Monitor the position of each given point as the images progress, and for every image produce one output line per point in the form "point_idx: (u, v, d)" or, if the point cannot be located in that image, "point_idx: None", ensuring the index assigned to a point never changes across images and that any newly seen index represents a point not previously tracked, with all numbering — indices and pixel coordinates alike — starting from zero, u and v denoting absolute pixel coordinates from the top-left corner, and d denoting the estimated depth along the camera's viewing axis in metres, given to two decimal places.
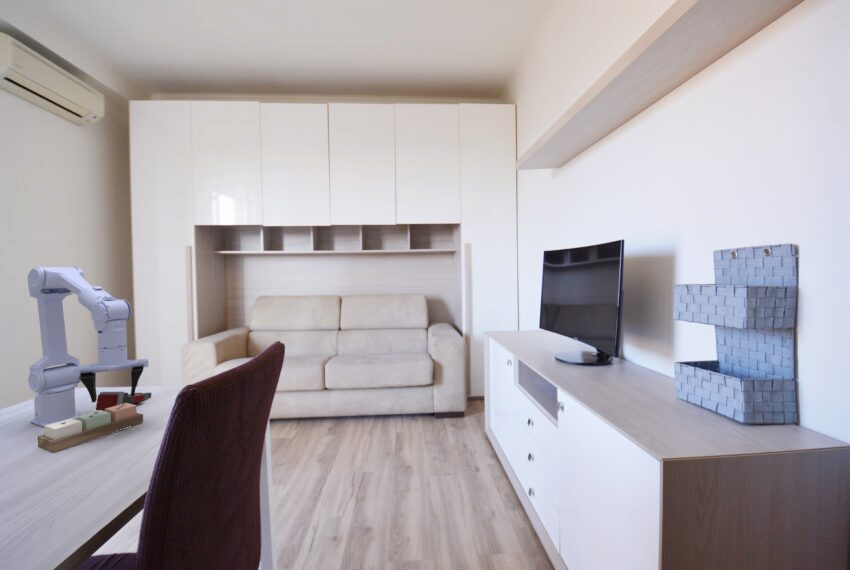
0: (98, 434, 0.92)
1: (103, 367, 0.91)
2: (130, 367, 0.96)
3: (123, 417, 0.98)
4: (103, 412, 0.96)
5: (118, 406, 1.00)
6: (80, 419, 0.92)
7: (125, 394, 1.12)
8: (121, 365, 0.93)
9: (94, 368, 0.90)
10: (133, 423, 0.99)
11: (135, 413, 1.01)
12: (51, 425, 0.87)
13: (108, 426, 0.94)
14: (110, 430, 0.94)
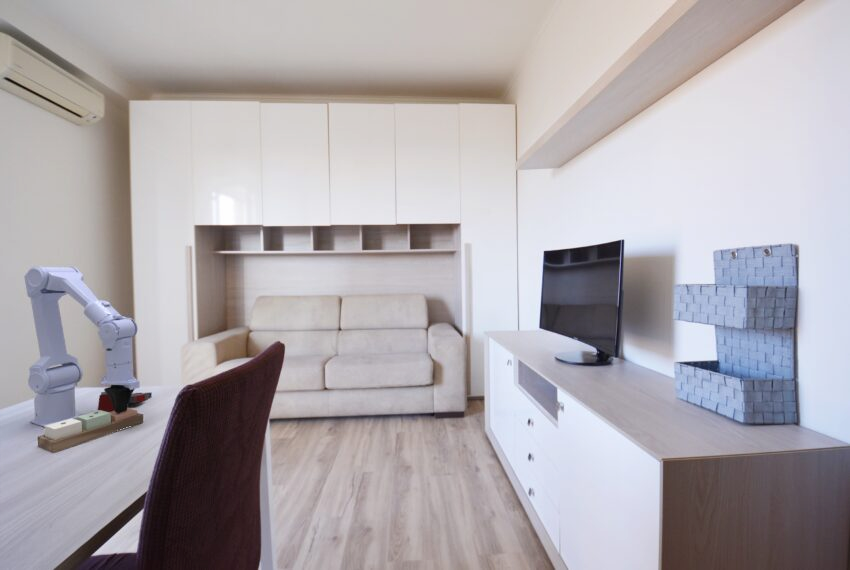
0: (98, 434, 0.92)
1: None
2: (126, 386, 0.98)
3: None
4: (103, 412, 0.96)
5: None
6: (80, 419, 0.92)
7: None
8: (112, 383, 0.96)
9: (104, 380, 0.99)
10: (133, 423, 0.99)
11: None
12: (51, 425, 0.87)
13: (108, 426, 0.94)
14: (110, 430, 0.94)
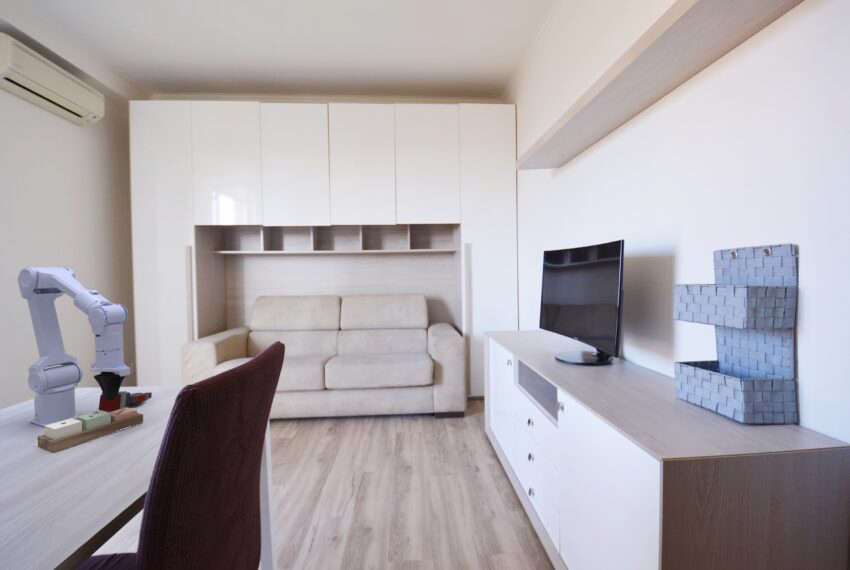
0: (98, 434, 0.92)
1: None
2: (116, 373, 0.96)
3: None
4: (103, 412, 0.96)
5: (118, 411, 1.00)
6: (80, 419, 0.92)
7: (127, 394, 1.12)
8: (102, 369, 0.94)
9: (94, 367, 0.97)
10: (133, 423, 0.99)
11: None
12: (51, 425, 0.87)
13: (108, 426, 0.94)
14: (110, 430, 0.94)
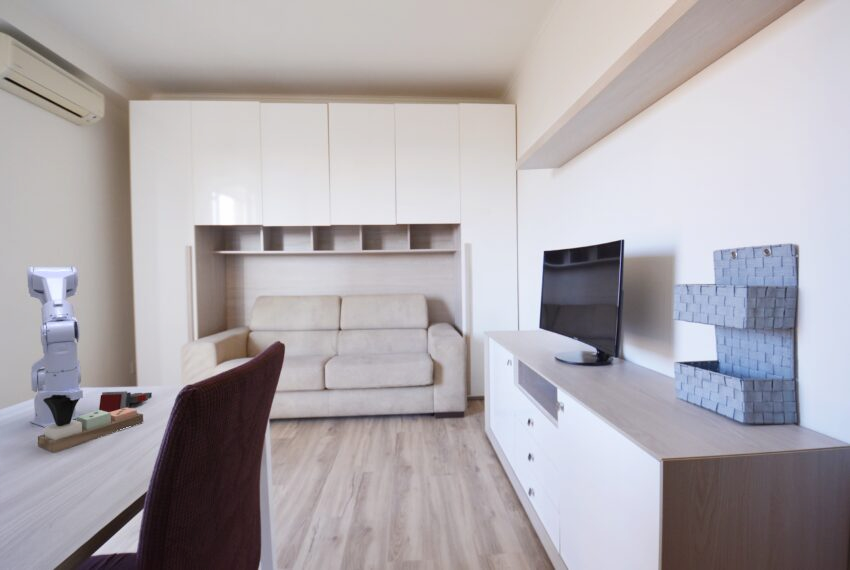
0: (98, 434, 0.92)
1: (44, 391, 0.87)
2: (67, 396, 0.87)
3: None
4: (103, 412, 0.96)
5: (118, 411, 1.00)
6: (80, 419, 0.92)
7: (128, 394, 1.12)
8: (51, 392, 0.85)
9: (44, 389, 0.88)
10: (133, 423, 0.99)
11: None
12: (51, 426, 0.87)
13: (108, 426, 0.94)
14: (110, 430, 0.94)
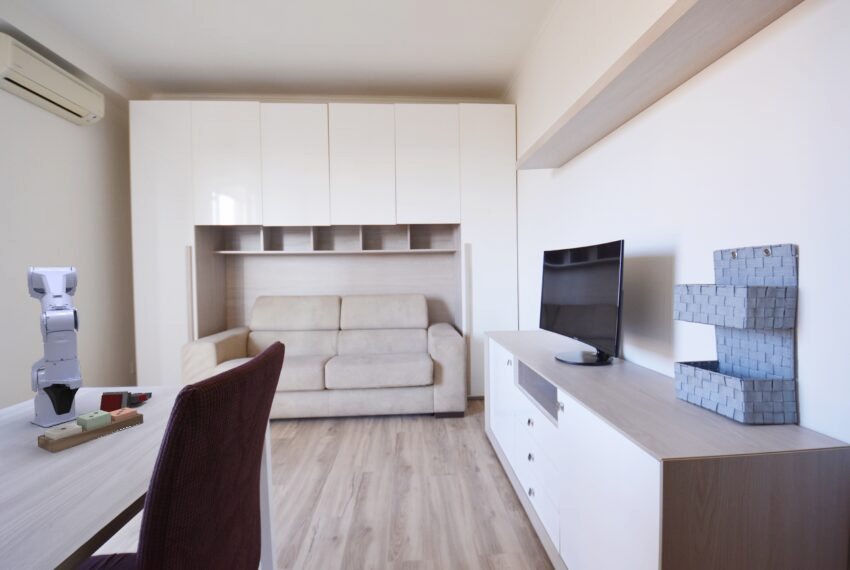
0: (98, 434, 0.92)
1: None
2: (67, 385, 0.87)
3: None
4: (103, 412, 0.96)
5: (118, 411, 1.00)
6: (80, 419, 0.92)
7: (129, 394, 1.12)
8: (51, 381, 0.85)
9: (44, 378, 0.88)
10: (133, 423, 0.99)
11: None
12: (51, 430, 0.87)
13: (108, 426, 0.94)
14: (110, 430, 0.94)
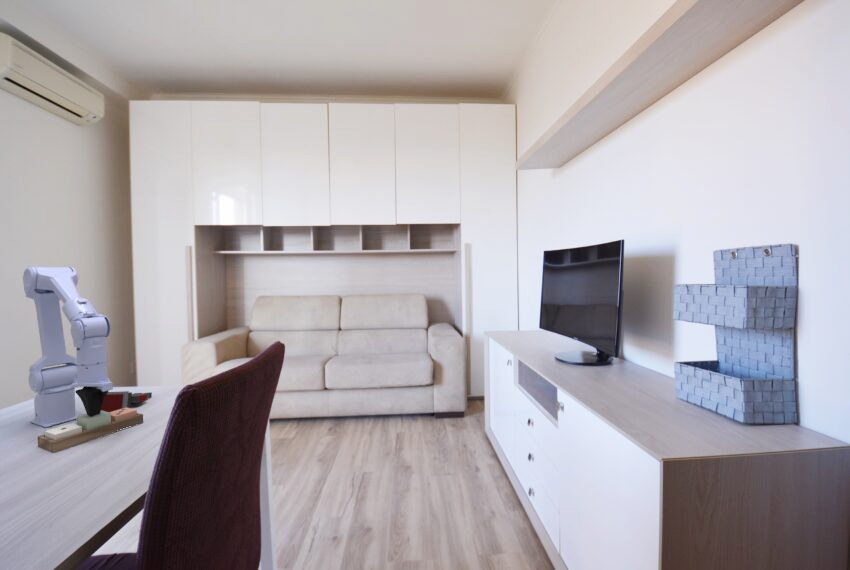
0: (98, 434, 0.92)
1: (76, 383, 0.92)
2: (98, 387, 0.92)
3: None
4: (103, 412, 0.96)
5: (118, 411, 1.00)
6: (80, 419, 0.92)
7: (129, 394, 1.12)
8: (83, 384, 0.91)
9: (76, 382, 0.93)
10: (133, 423, 0.99)
11: None
12: (51, 430, 0.87)
13: (108, 426, 0.94)
14: (110, 430, 0.94)
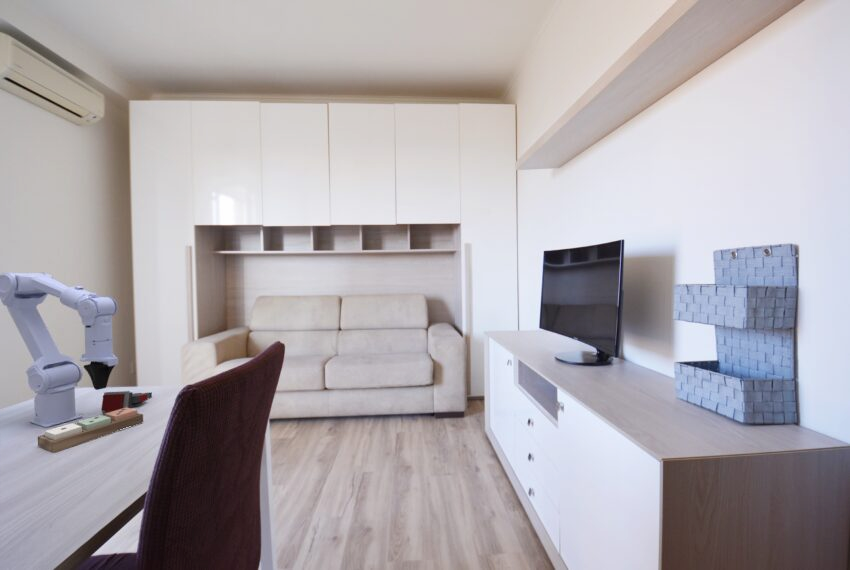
0: (98, 434, 0.92)
1: (84, 358, 0.99)
2: (105, 363, 0.99)
3: None
4: (103, 417, 0.96)
5: (118, 411, 1.00)
6: (80, 424, 0.92)
7: (130, 394, 1.12)
8: (91, 359, 0.97)
9: (84, 357, 1.00)
10: (133, 423, 0.99)
11: None
12: (51, 430, 0.87)
13: (108, 426, 0.94)
14: (110, 430, 0.94)
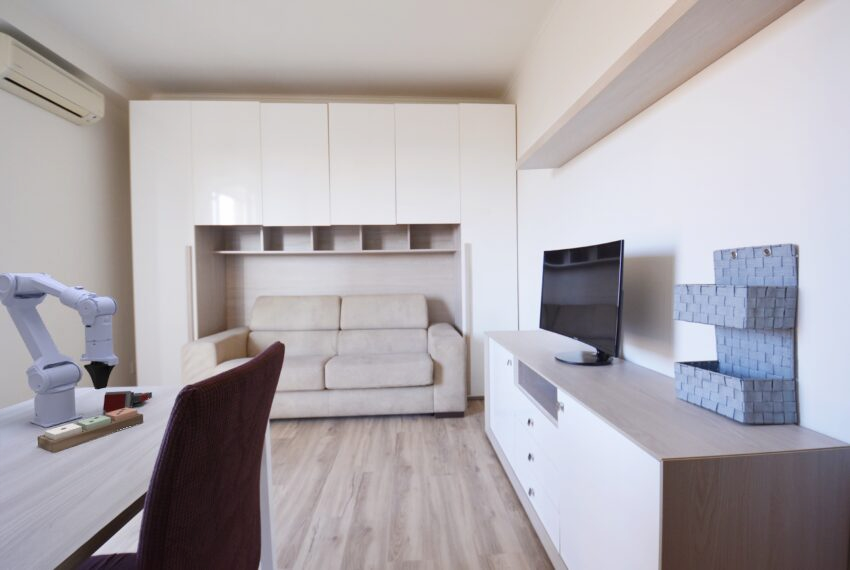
0: (98, 434, 0.92)
1: (84, 358, 0.99)
2: (105, 362, 0.99)
3: None
4: (103, 417, 0.96)
5: (118, 411, 1.00)
6: (80, 424, 0.92)
7: (131, 393, 1.12)
8: (91, 359, 0.97)
9: (84, 357, 1.00)
10: (133, 423, 0.99)
11: None
12: (51, 430, 0.87)
13: (108, 426, 0.94)
14: (110, 430, 0.94)
